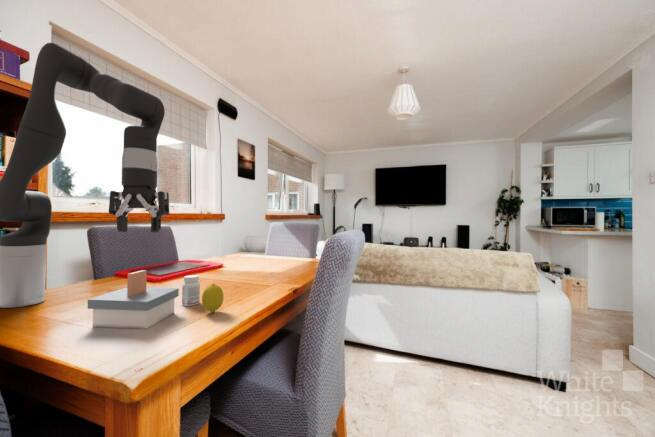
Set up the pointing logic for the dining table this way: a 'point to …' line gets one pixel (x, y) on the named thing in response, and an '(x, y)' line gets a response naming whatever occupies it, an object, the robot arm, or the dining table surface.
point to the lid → (134, 295)
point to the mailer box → (132, 316)
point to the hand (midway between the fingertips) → (139, 232)
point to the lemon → (212, 298)
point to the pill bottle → (191, 290)
